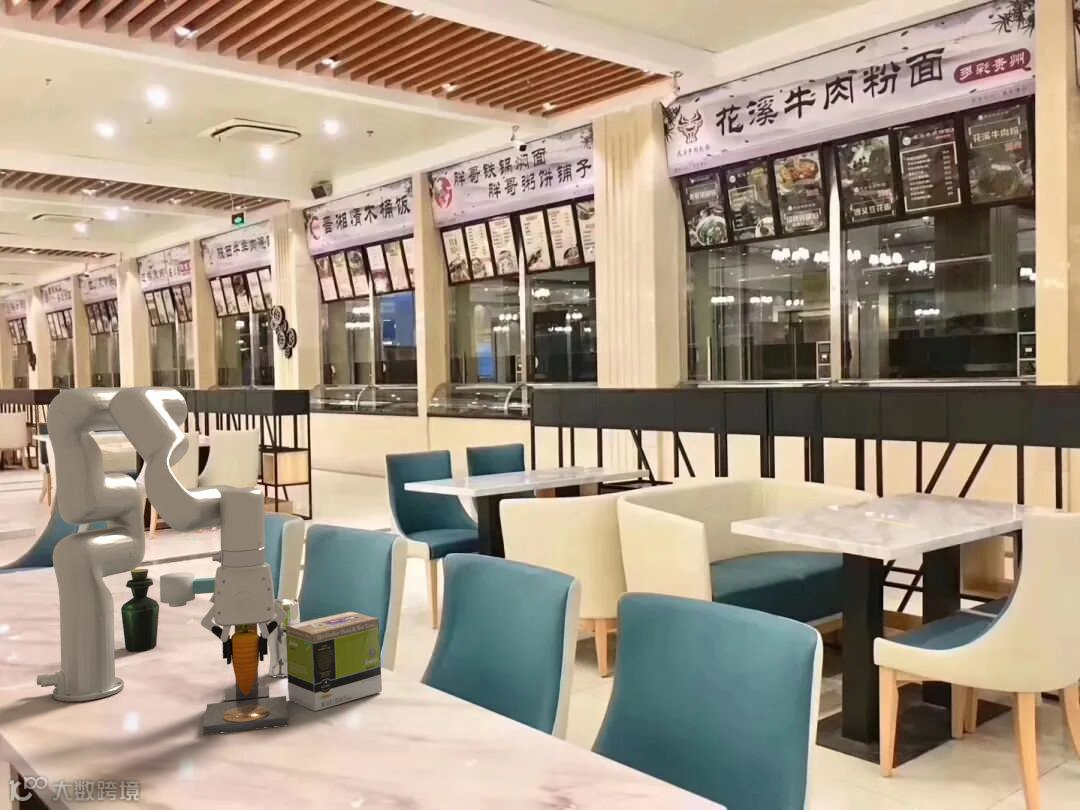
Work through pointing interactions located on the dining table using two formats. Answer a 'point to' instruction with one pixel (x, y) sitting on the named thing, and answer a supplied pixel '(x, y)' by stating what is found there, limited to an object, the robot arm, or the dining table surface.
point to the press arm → (183, 588)
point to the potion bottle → (140, 614)
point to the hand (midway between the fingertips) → (245, 659)
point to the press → (246, 708)
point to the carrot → (245, 657)
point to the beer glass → (282, 637)
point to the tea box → (333, 660)
